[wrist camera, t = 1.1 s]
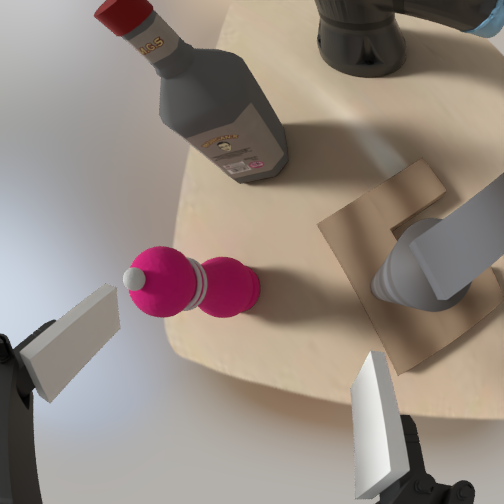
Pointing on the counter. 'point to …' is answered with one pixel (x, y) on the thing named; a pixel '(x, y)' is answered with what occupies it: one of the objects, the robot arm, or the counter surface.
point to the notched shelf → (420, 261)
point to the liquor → (204, 94)
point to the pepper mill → (190, 284)
